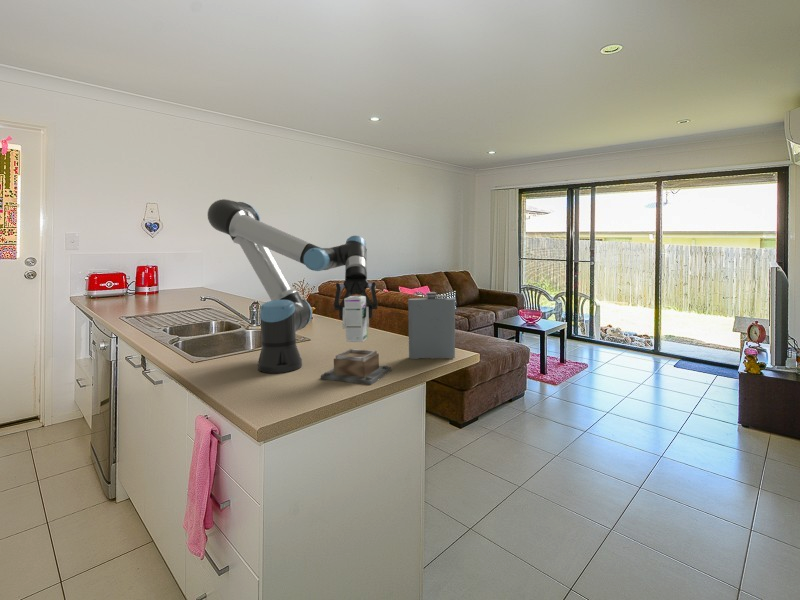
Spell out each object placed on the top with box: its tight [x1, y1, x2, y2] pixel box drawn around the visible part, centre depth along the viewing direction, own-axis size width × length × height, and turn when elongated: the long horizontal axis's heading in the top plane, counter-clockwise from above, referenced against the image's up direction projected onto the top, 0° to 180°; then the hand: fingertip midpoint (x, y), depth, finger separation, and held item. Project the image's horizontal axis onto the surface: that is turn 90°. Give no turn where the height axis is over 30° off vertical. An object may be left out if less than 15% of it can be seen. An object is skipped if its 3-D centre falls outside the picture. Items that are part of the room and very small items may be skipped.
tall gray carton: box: [407, 291, 456, 360], centre depth 161 cm, size 17×5×25 cm, turn 88°
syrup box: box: [344, 295, 369, 343], centre depth 139 cm, size 6×6×14 cm
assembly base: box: [320, 348, 392, 385], centre depth 141 cm, size 18×16×7 cm
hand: (355, 325), depth 136 cm, fingers closed on syrup box, 7 cm apart
